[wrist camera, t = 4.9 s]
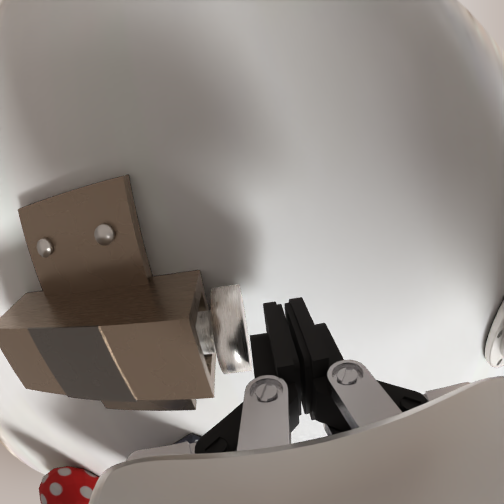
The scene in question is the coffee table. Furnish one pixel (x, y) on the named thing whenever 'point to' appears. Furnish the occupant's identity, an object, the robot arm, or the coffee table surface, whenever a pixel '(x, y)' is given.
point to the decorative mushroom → (67, 486)
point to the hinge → (105, 309)
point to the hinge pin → (225, 330)
